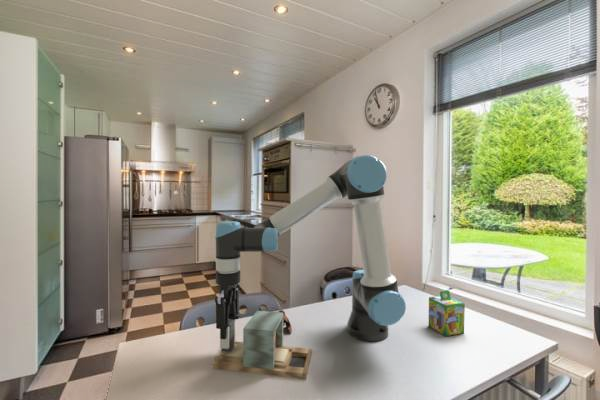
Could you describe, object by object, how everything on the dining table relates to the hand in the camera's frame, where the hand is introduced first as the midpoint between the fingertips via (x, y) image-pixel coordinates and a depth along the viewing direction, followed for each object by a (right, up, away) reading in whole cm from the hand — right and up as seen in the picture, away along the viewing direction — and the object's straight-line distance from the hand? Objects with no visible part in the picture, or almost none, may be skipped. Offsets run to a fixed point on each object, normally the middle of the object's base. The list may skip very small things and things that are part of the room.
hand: (227, 343), depth 89 cm
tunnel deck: (+12, -4, -2) cm, 13 cm away
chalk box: (+79, -5, +19) cm, 82 cm away
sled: (+9, -3, -1) cm, 9 cm away
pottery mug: (+15, -4, +18) cm, 23 cm away
